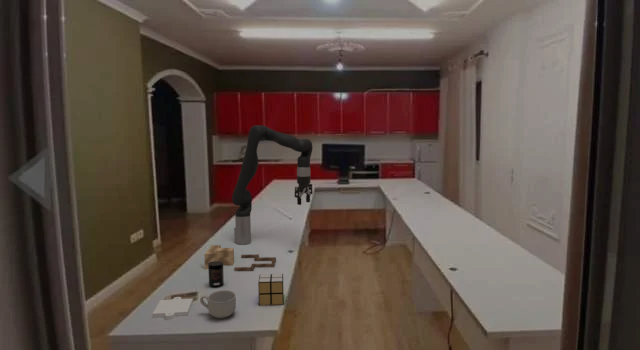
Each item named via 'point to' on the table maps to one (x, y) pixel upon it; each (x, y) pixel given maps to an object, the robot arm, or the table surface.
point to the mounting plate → (173, 308)
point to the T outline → (256, 258)
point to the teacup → (220, 303)
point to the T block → (219, 255)
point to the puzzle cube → (271, 289)
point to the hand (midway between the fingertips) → (303, 203)
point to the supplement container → (216, 274)
